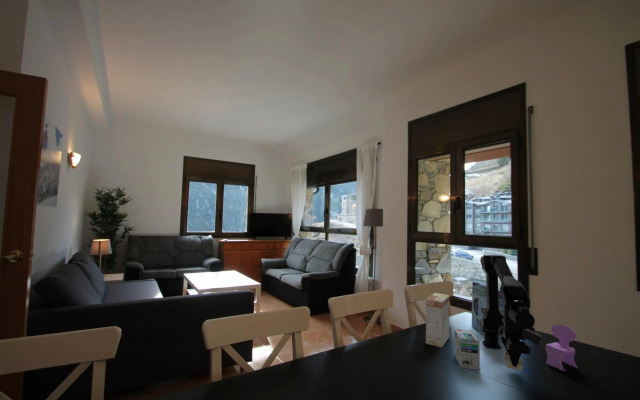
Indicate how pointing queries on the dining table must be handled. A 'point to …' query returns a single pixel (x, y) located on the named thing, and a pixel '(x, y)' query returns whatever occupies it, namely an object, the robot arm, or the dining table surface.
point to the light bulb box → (467, 349)
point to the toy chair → (561, 347)
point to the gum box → (482, 304)
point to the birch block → (509, 363)
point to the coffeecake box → (437, 319)
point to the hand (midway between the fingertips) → (513, 363)
